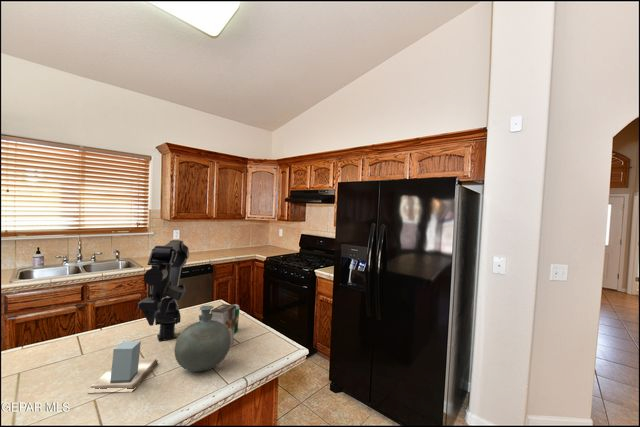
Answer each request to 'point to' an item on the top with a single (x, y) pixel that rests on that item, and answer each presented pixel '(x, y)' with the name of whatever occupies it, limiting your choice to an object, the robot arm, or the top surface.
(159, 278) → the robot arm
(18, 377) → the top surface
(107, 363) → the top surface
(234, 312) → the coffee box
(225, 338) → the flask
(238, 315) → the soda can
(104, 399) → the top surface
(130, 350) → the block
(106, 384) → the board
